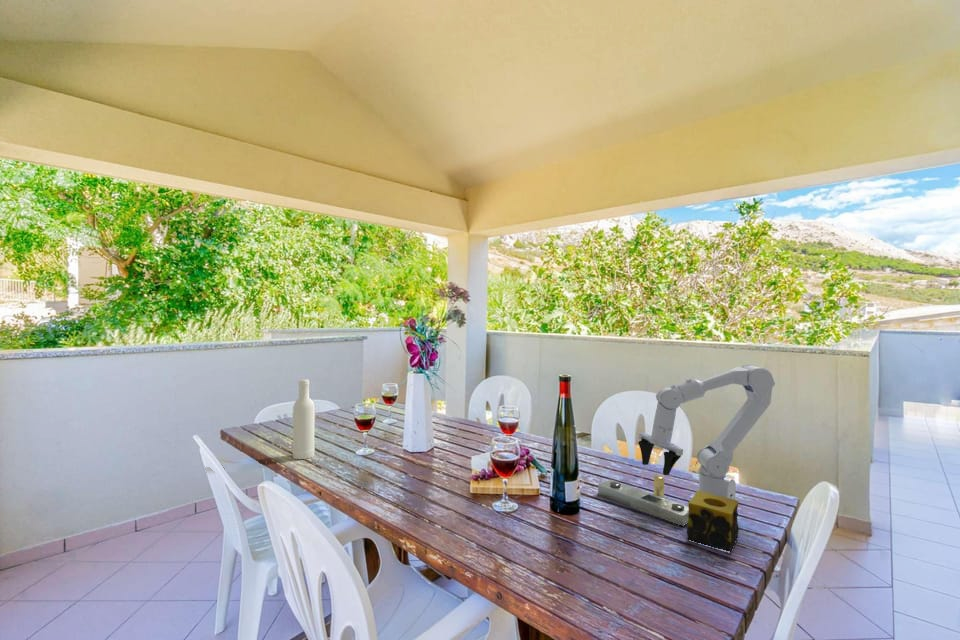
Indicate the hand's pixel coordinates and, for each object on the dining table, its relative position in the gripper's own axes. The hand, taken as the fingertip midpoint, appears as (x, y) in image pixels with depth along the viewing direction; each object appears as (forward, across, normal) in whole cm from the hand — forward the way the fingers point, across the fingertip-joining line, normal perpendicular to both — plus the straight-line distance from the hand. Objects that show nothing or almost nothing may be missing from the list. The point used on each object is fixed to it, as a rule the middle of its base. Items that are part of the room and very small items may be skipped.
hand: (655, 469), depth 136 cm
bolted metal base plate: (+9, +3, -7) cm, 12 cm away
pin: (+9, +2, +1) cm, 9 cm away
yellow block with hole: (+8, +25, -8) cm, 27 cm away
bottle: (+28, -91, -86) cm, 129 cm away
